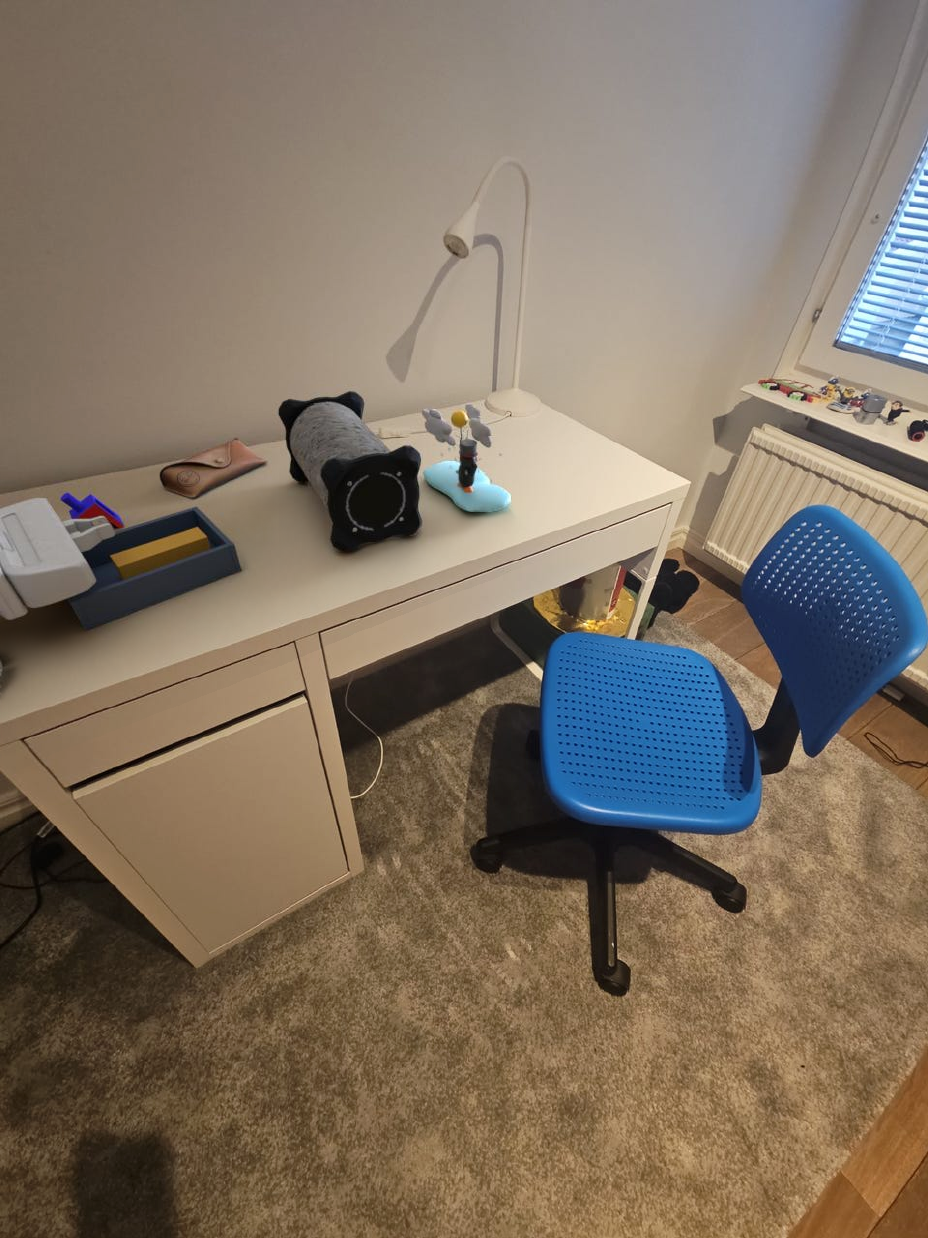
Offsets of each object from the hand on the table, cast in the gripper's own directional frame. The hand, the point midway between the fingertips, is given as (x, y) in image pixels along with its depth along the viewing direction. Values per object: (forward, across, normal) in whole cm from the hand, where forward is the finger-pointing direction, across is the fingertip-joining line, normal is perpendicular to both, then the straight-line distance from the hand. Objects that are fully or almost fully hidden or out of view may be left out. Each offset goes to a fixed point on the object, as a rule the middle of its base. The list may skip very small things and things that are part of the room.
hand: (110, 525), depth 70 cm
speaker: (+35, +2, -9) cm, 36 cm away
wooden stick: (-2, 0, -7) cm, 7 cm away
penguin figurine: (+54, +10, -9) cm, 56 cm away
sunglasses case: (+22, -24, -9) cm, 34 cm away
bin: (+2, 0, -9) cm, 9 cm away
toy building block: (0, -18, -9) cm, 20 cm away
